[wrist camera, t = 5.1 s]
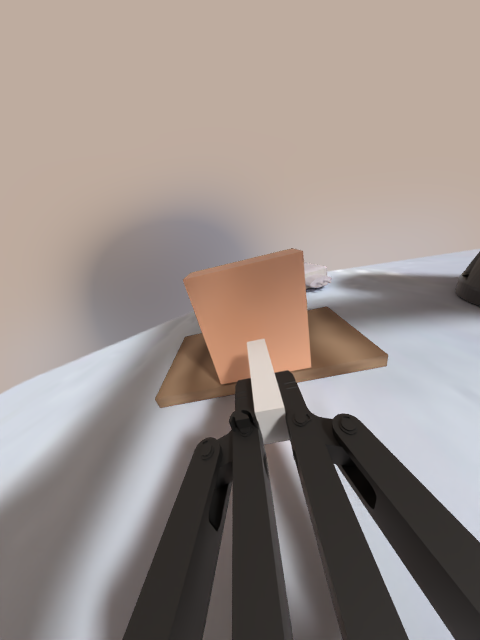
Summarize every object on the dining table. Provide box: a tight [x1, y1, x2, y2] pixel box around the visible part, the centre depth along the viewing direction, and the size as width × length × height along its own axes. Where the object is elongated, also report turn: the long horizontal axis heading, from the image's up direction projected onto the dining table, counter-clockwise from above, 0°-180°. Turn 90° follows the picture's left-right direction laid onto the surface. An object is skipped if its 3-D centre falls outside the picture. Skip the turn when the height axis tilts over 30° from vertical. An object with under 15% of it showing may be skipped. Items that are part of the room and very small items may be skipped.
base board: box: [155, 307, 388, 408], centre depth 27 cm, size 26×14×2 cm, turn 91°
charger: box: [304, 263, 332, 289], centre depth 46 cm, size 5×9×15 cm
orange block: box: [183, 248, 311, 384], centre depth 21 cm, size 10×9×12 cm
